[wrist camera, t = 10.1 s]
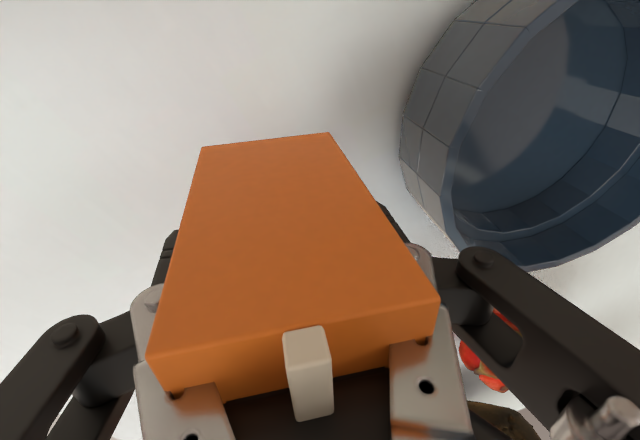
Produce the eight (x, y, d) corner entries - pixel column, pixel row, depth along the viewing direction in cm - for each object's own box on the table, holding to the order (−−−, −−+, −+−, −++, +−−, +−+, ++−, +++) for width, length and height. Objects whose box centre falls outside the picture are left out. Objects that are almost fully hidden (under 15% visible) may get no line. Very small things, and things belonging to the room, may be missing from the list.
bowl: (408, -34, 16) (484, -50, 11) (688, -48, 18) (857, -66, 13) (386, 235, 25) (422, 292, 20) (572, 204, 27) (645, 249, 22)
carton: (200, 146, 12) (121, 427, 4) (329, 131, 13) (478, 348, 5) (230, 256, 15) (218, 542, 7) (333, 239, 16) (427, 483, 8)
